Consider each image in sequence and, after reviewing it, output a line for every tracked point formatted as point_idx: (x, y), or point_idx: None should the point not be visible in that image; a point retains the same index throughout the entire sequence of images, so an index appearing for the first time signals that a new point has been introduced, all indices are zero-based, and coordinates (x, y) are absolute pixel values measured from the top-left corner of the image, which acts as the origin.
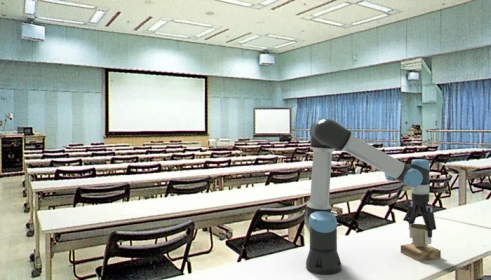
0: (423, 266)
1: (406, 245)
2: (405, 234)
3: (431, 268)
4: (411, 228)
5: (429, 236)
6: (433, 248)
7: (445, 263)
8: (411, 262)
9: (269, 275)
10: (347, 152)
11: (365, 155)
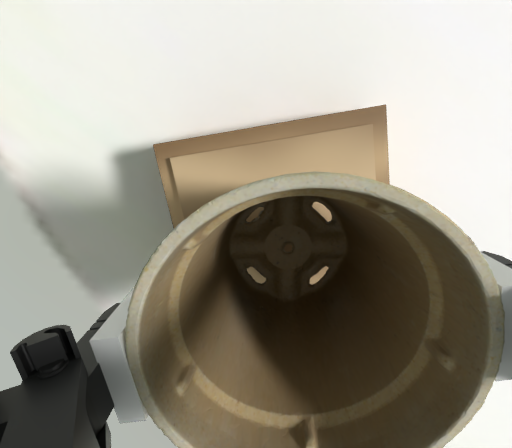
0: (84, 118)
1: (353, 147)
2: None
3: (48, 150)
4: (317, 185)
5: (108, 312)
6: None
7: (123, 282)
8: (162, 75)
9: None
10: None
11: None
